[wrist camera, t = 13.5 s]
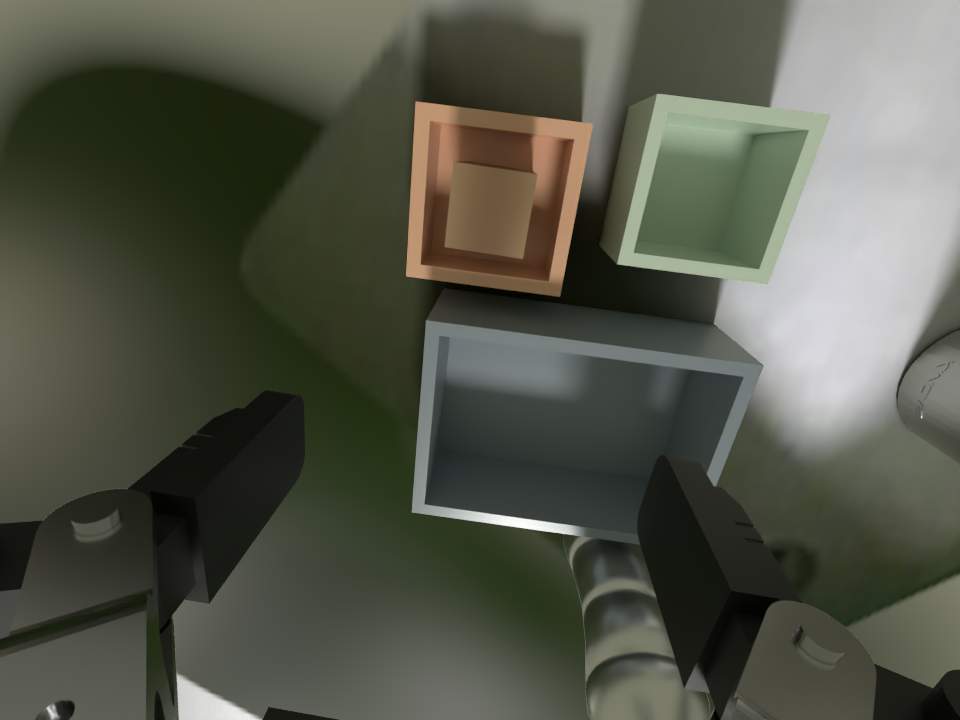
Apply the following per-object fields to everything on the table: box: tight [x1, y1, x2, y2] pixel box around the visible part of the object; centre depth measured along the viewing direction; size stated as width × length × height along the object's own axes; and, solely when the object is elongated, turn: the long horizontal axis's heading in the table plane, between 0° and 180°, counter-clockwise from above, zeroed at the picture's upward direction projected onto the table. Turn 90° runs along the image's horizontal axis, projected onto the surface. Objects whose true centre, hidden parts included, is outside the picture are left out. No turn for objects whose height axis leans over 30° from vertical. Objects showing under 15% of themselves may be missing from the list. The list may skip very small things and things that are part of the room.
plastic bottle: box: [563, 534, 710, 720], centre depth 30 cm, size 6×7×20 cm
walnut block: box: [445, 161, 538, 259], centre depth 26 cm, size 4×4×7 cm
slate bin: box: [412, 288, 763, 545], centre depth 32 cm, size 19×14×7 cm
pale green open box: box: [599, 94, 830, 284], centre depth 26 cm, size 8×8×6 cm
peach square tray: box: [406, 102, 593, 297], centre depth 28 cm, size 9×9×4 cm
